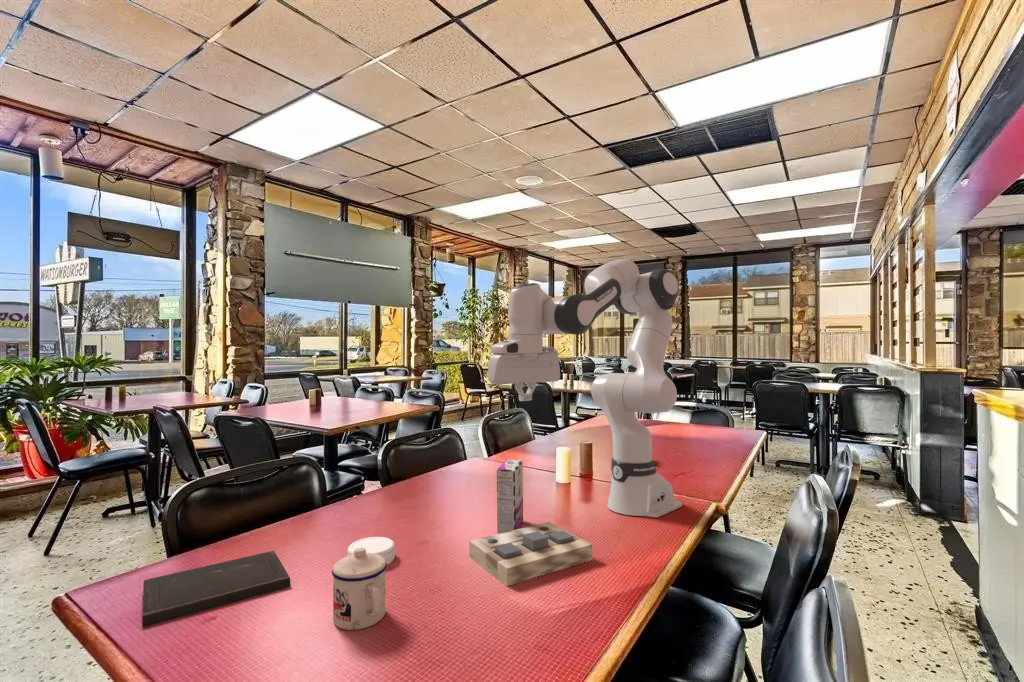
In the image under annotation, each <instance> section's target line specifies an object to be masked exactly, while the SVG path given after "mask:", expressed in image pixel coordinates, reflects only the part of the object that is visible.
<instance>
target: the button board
mask: <svg viewBox="0 0 1024 682" xmlns="http://www.w3.org/2000/svg"><path fill="white" fill-rule="evenodd" d="M536 531H538V532H540V533H542V534H544V535H545V536H547V537H548V534H551V533H555V532H559V531H564V532H566V533H568V534H570V535H572V536H573V541H571V542H568V543H564V544H560V545H558V544H556V543H555V542H553V541H551V540H549V539H548V548H546V549H542V550H538V551H535V552H532V551H530V550H529V549H527V548H525V547H524V546H523V535H524V534H528V533H532V532H536ZM468 544H469V545H468V547H469V549H468V550H469V551H468V553H469V554H468V555H469V556H470V557H469V558H471V559H472V560H473V561H474V560H475V561H474V562H475V563H477V564H478V566H480V567H482V568H483V569H484V570H486V572H488V573H489V574H490V575H492V576H493V577H495V579H497V580H498V581H499V582H500V583H502V585H504V586H505V587H509V585H510V586H512V585H515V584H519V583H518V582H520V583H523V582H526V581H529V580H531V579H530V578H533V579H535V578H534V577H536V578H538V577H537V576H539V577H541V576H540V575H542V576H544V575H543V574H546V575H549V574H552V573H556V572H558V570H559V571H561V570H565V569H568V568H571V566H572V567H575V566H579V565H582V564H585V563H588V562H591V560H592V561H593V544H592V543H591V542H589V541H587V540H585V539H583V538H581V537H579V536H577V535H575V534H574V533H571V532H569V531H568V530H565V529H563V528H562V527H559V526H557V525H555V524H554V523H552V522H550V521H547V522H544V523H538V524H535V525H531V526H530V525H529V526H526V527H525V526H524V527H522V528H519V529H517V530H513V531H508V532H504V533H500V534H498V533H496V534H491V535H488V536H483V537H481V538H480V537H479V538H476V539H471V540H469V542H468ZM507 544H513V545H514V546H516V547H517V548H519V549H521V555H520V556H516V557H512V558H509V559H505V560H504V559H503V558H501V557H500V556H498V555H497V554H496V553H495V547H499V546H503V545H507ZM584 562H585V563H584ZM581 563H582V564H581ZM555 571H556V572H555ZM551 572H552V573H551ZM548 573H549V574H548ZM528 579H529V580H528ZM525 580H526V581H525ZM522 581H523V582H522Z"/></svg>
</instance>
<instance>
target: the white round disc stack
mask: <svg viewBox="0 0 1024 682" xmlns="http://www.w3.org/2000/svg"><path fill="white" fill-rule="evenodd" d="M395 547H396V545H395V542H394V541H393V540H392V539H390V538H388V537H384V536H369V537H364V538H360V539H358V540H356V541H353V542H352V543H351V544H350V545H348V547H347V556H350V555H352V554H354V550H355V549H357V548H365V550H366V552H368V553H372V554H377V555H380V556H382V557H383V558H384V559H385V561H386V563H387V566H388V565H389V564H391V563H392V562H393V561H394V559H395V552H396V549H395ZM347 556H346V557H347Z"/></svg>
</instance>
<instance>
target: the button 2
mask: <svg viewBox="0 0 1024 682" xmlns="http://www.w3.org/2000/svg"><path fill="white" fill-rule="evenodd" d="M548 539H549V540H551V541H553V542H555V543H556V544H558V545H560V544H564V543H568V542H571V541H573V536H572V535H570V534H568V533H566V532H564V531H559V532H555V533H551V534H548Z"/></svg>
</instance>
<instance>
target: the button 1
mask: <svg viewBox="0 0 1024 682" xmlns="http://www.w3.org/2000/svg"><path fill="white" fill-rule="evenodd" d="M495 553H496V554H497V555H498V556H500V557H501V558H503V559H504V560H505V559H509V558H512V557H516V556H520V555H521V549H519V548H517V547H516V546H514V545H513V544H507V545H503V546H499V547H495Z"/></svg>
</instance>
